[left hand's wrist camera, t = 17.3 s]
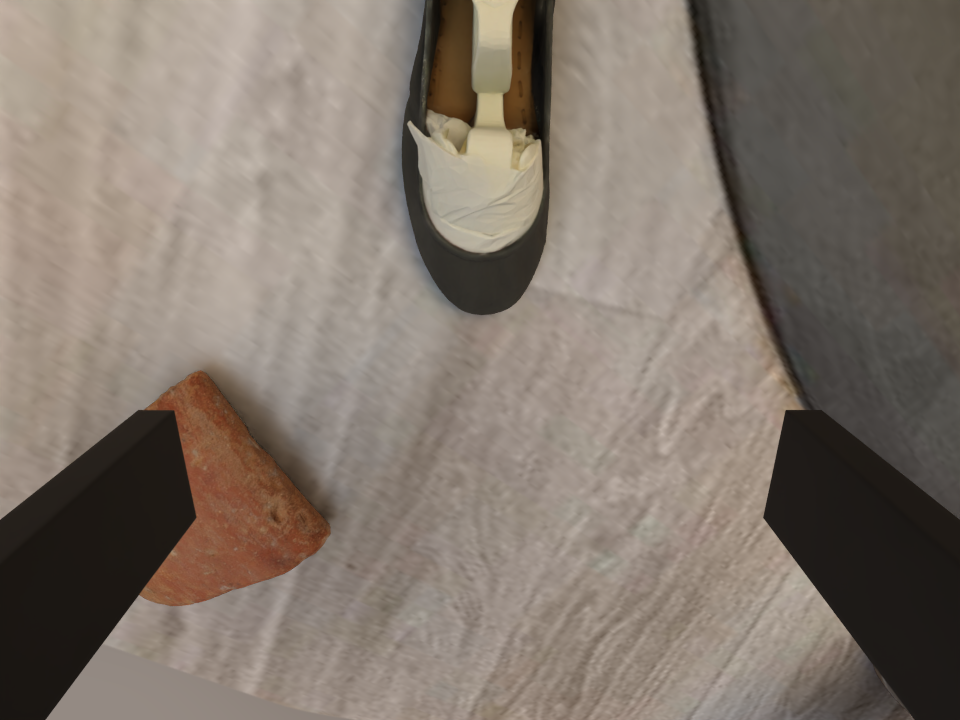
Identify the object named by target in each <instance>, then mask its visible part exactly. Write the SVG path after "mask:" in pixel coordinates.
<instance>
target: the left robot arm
mask: <svg viewBox="0 0 960 720" xmlns="http://www.w3.org/2000/svg"><path fill="white" fill-rule="evenodd" d="M196 518H197V517H196V512H195V507H194V502H193V498H192V493H191V488H190V483H189V479H188V474H187V469H186V464H185V459H184V455H183V450H182V445H181V440H180V435H179V431H178V426H177V421H176V416H175V411H174V410H138V411H137V412H136V413H134V414H133V415H132V416H131V417H129V418H128V419H127V420H125V421H124V422H123V423H122V424H120V425H119V426H118V427H117V428H115V429H114V430H113V431H112V432H110V433H109V434H108V435H107V436H105V437H104V438H103V439H102V440H100V441H99V442H98V443H97V444H95V445H94V446H93V447H91V448H90V449H89V450H88V451H86V452H85V453H84V454H83V455H81V456H80V457H79V458H78V459H76V460H75V461H74V462H73V463H71V464H70V465H69V466H68V467H66V468H65V469H64V470H62V471H61V472H60V473H59V474H57V475H56V476H55V477H54V478H52V479H51V480H50V481H49V482H47V483H46V484H45V485H44V486H42V487H41V488H40V489H39V490H37V491H36V492H35V493H33V494H32V495H31V496H30V497H28V498H27V499H26V500H25V501H23V502H22V503H21V504H20V505H18V506H17V507H16V508H15V509H13V510H12V511H11V512H10V513H8V514H7V515H6V516H4V517H3V518H2V519H1V520H0V720H45V719H46V718H47V717H48V716H49V714H50V713H51V712H52V710H53V709H54V708H55V706H56V705H57V704H58V702H59V701H60V700H61V698H62V697H63V696H64V694H65V693H66V692H67V690H68V689H69V688H70V686H71V685H72V684H73V682H74V681H75V679H76V678H77V677H78V676H79V674H80V673H81V671H82V670H83V669H84V667H85V666H86V665H87V663H88V662H89V661H90V659H91V658H92V657H93V655H94V654H95V653H96V651H97V650H98V649H99V647H100V646H101V645H102V643H103V642H104V641H105V639H106V638H107V637H108V635H109V634H110V633H111V631H112V630H113V629H114V627H115V626H116V625H117V623H118V622H119V621H120V619H121V618H122V617H123V615H124V614H125V613H126V611H127V610H128V609H129V607H130V606H131V605H132V603H133V602H134V601H135V599H136V598H137V597H138V595H139V594H140V593H141V591H142V590H143V589H144V587H145V586H146V585H147V583H148V582H149V581H150V579H151V578H152V577H153V575H154V574H155V573H156V571H157V570H158V569H159V567H160V566H161V565H162V563H163V562H164V561H165V559H166V558H167V557H168V555H169V554H170V553H171V551H172V550H173V549H174V547H175V546H176V545H177V543H178V542H179V541H180V539H181V538H182V537H183V535H184V534H185V533H186V531H187V530H188V529H189V527H190V526H191V525H192V523H193V522H194V521H195V519H196ZM763 518H764V519H765V521H766V522H767V523H768V525H769V526H770V527H771V529H772V530H773V531H774V533H775V534H776V535H777V537H778V538H779V539H780V541H781V542H782V543H783V545H784V546H785V547H786V549H787V550H788V551H789V553H790V554H791V555H792V557H793V558H794V559H795V561H796V562H797V563H798V565H799V566H800V567H801V569H802V570H803V571H804V573H805V574H806V575H807V577H808V578H809V579H810V581H811V582H812V583H813V585H814V586H815V587H816V589H817V590H818V591H819V593H820V594H821V595H822V597H823V598H824V599H825V601H826V602H827V603H828V605H829V606H830V607H831V609H832V610H833V611H834V613H835V614H836V615H837V617H838V618H839V619H840V621H841V622H842V623H843V625H844V626H845V627H846V629H847V630H848V631H849V633H850V634H851V635H852V637H853V638H854V639H855V641H856V642H857V643H858V645H859V646H860V647H861V649H862V650H863V651H864V653H865V654H866V655H867V657H868V658H869V659H870V661H871V662H872V663H873V666H874V669H875V671H876V673H877V675H878V677H879V679H880V680H881V681H882V683H883V684H884V686H885V687H886V688H887V690H888V691H889V692H890V694H891V695H892V696H893V697H894V698H895V699H896V700H897V701H898V702H899V703H900V704H901V705H902V706H903V707H904V708H905V709H906V710H907V711H908V712H909V713H910V714H911V716H912V717H913V718H914V720H960V520H959V519H958V518H957V517H956V516H954V515H953V514H952V513H950V512H949V511H948V510H947V509H945V508H944V507H943V506H942V505H940V504H939V503H938V502H937V501H935V500H934V499H933V498H932V497H930V496H929V495H928V494H927V493H925V492H924V491H923V490H921V489H920V488H919V487H918V486H916V485H915V484H914V483H913V482H911V481H910V480H909V479H908V478H906V477H905V476H904V475H903V474H901V473H900V472H899V471H898V470H896V469H895V468H894V467H892V466H891V465H890V464H889V463H887V462H886V461H885V460H884V459H882V458H881V457H880V456H879V455H877V454H876V453H875V452H874V451H872V450H871V449H870V448H869V447H867V446H866V445H865V444H863V443H862V442H861V441H860V440H858V439H857V438H856V437H855V436H853V435H852V434H851V433H850V432H848V431H847V430H846V429H845V428H843V427H842V426H841V425H840V424H838V423H837V422H836V421H835V420H833V419H832V418H831V417H829V416H828V415H827V414H826V413H824V412H823V411H822V410H786V411H785V416H784V421H783V426H782V431H781V435H780V440H779V445H778V450H777V455H776V459H775V464H774V469H773V474H772V478H771V483H770V488H769V493H768V498H767V502H766V507H765V512H764V517H763Z"/></svg>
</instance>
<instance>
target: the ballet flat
mask: <svg viewBox="0 0 960 720" xmlns="http://www.w3.org/2000/svg"><path fill="white" fill-rule="evenodd" d="M554 6H555V0H426V1H425V9H424V15H423V23H422V30H421V36H420V41H419V45H418V51H417V54H416V58H415V62H414V66H413V71H412V75H411V81H410V97H409V99H408V102H407V105H406V110H405V116H404V124H403V136H402V169H403V179H404V188H405V194H406V200H407V206H408V210H409V215H410V220H411V223H412V227H413V231H414V234H415V238H416V242H417V246H418V249H419V251H420V254H421V256H422V259H423V261H424V263H425V265H426V267H427V269H428V271H429V272H430V274H431V276H432V278H433V280H434V281H435V283H436V284H437V286H438V287H439V289H440V290H441V291H442V293H443V294H444V295H445V296H446V297H447V298H448V300H450V301H451V302H452V303H453V304H454V305H455V306H457V307H458V308H459V309H461V310H463V311H465V312H468V313H471V314H477V315H487V314H494V313H498V312H501V311H504V310H506V309H508V308H510V307H511V306H512V305H514V304H515V303H516V302H517V301H518V300H519V299H520V298H521V296H522V295H523V293H524V292H525V290H526V289H527V287H528V285H529V283H530V281H531V280H532V278H533V275H534V273H535V271H536V269H537V266H538V264H539V261H540V258H541V255H542V252H543V248H544V245H545V242H546V230H547V220H548V209H549V129H550V108H551V65H552V29H553V12H554Z"/></svg>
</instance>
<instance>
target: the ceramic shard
mask: <svg viewBox="0 0 960 720" xmlns="http://www.w3.org/2000/svg"><path fill="white" fill-rule="evenodd" d="M144 410H174V411H175V416H176V421H177V426H178V431H179V435H180V440H181V445H182V450H183V455H184V459H185V464H186V469H187V474H188V479H189V483H190V488H191V493H192V498H193V502H194V507H195V512H196V517H197V518H196V519H195V521H194V522H193V523H192V525H191V526H190V527H189V529H188V530H187V531H186V533H185V534H184V535H183V537H182V538H181V539H180V541H179V542H178V543H177V545H176V546H175V547H174V549H173V550H172V551H171V553H170V554H169V555H168V557H167V558H166V559H165V561H164V562H163V563H162V565H161V566H160V567H159V569H158V570H157V571H156V573H155V574H154V575H153V577H152V578H151V579H150V581H149V582H148V583H147V585H146V586H145V587H144V589H143V590H142V591H141V593H140V594H139V595H140V596H142V597H143V598H145V599H147V600H149V601H152V602H155V603H159V604H165V605H169V606H183V605H190V604H194V603H199V602H202V601H206V600H209V599H212V598H214V597H216V596H219V595H222V594H224V593H226V592H229V591H231V590H233V589H239V588H243V587H246V586H248V585H251V584H254V583H258V582H261V581H264V580H268V579H271V578H274V577H276V576H279V575H282V574H284V573H286V572H288V571H290V570H292V569H293V568H294V567H296V566H297V565H299V564H300V563H301V562H302V561H303V560H304V559H306V558H308V557H309V556H311V555H313V554H315V553H316V552H317V551H318V550H319V549H320V548H321V547H322V546H323V544H324V543H325V541H326V539H327V538H328V536H329V535H330V533H331V532H330V525H329V523H328V522H327V521H326V520H325V519H324V518H323V517H322V516H321V515H320V514H319V513H318V512H317V511H316V509H315V508H314V507H313V506H312V505H311V504H310V503H309V502H308V501H307V499H306V498H305V497H304V496H303V495H302V494H301V493H300V491H299V490H298V489H297V488H296V487H295V486H294V484H293V483H292V482H291V481H290V479H289V478H288V477H287V476H286V475H285V473H284V472H283V471H282V470H281V469H280V468H279V467H278V466H277V464H276V463H275V461H274V459H273V458H272V457H271V456H270V455H269V454H268V453H267V452H265V451H264V450H263V449H262V448H261V447H260V446H259V445H258V444H257V443H256V442H255V440H254V439H253V438H252V437H251V436H250V435H249V432H248V430H247V428H246V426H245V425H244V423H243V422H242V421H241V419H240V418H239V417H238V415H237V414H236V412H235V411H234V410H233V408H232V407H231V406H230V404H229V403H228V402H227V400H226V399H225V398H224V396H223V395H222V393H221V392H220V391H219V389H218V388H217V386H216V385H215V384H214V382H213V381H212V380H211V379H210V377H209V376H208V375H207V374H206V373H204V372H203V371H201V370H200V371H197V372H194V373H193V374H190V375H189V376H187V377H186V378H185V380H183V381H181V382H179V383H178V384H177V385H176V386H172V387H170V388H169V389H168V391H167V392H165V393H163V394H162V395H160V397H159V398H158V399H157V400H156V401H155V402H154V403H152V404H151V405H150V406H148V407H147V408H146V409H144Z"/></svg>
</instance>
